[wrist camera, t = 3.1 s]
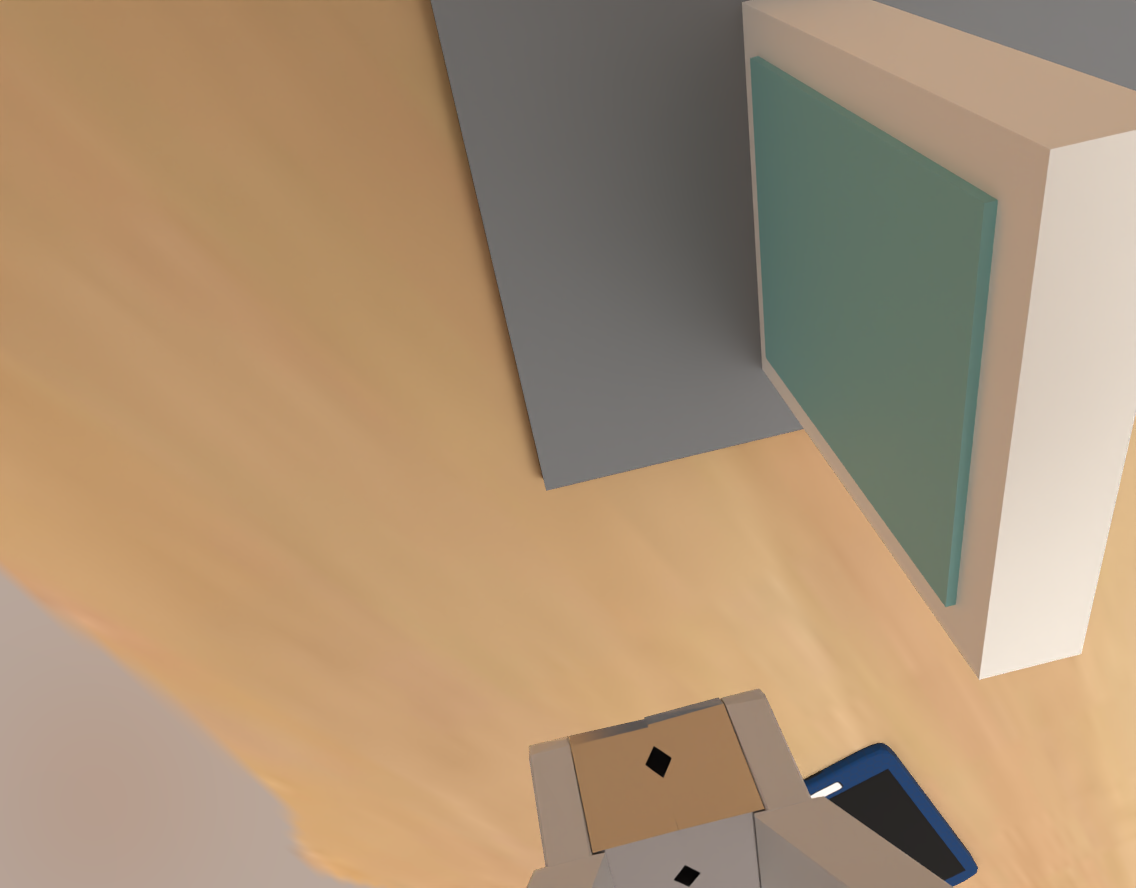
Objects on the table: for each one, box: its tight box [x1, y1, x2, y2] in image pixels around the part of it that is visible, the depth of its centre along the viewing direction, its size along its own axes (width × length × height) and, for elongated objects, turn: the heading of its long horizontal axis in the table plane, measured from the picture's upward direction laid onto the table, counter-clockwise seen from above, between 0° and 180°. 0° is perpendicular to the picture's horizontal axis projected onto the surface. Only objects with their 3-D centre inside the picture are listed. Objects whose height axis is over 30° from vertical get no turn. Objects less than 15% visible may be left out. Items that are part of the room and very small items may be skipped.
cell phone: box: [804, 743, 978, 887], centre depth 43 cm, size 7×14×1 cm, turn 33°
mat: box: [431, 0, 1136, 491], centre depth 25 cm, size 15×30×1 cm, turn 100°
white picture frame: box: [742, 0, 1136, 680], centre depth 19 cm, size 10×2×12 cm, turn 10°
